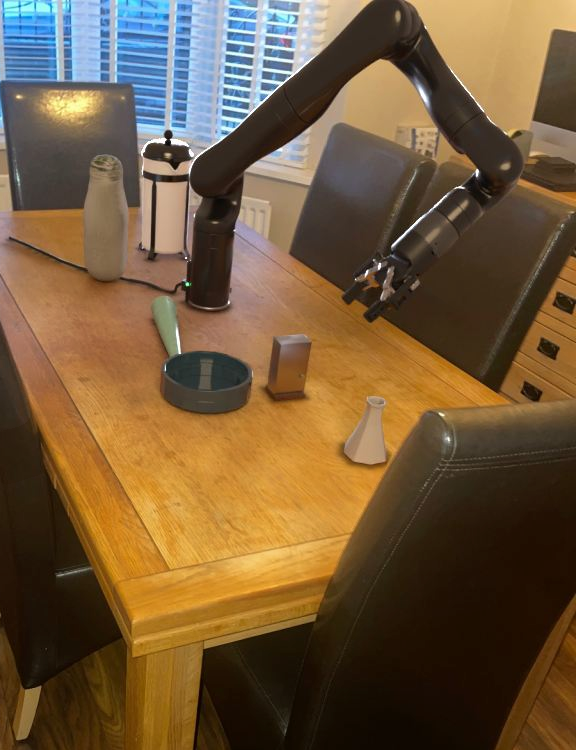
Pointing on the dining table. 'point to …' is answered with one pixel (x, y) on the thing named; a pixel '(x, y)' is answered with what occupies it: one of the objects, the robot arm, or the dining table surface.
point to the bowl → (206, 381)
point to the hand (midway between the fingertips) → (355, 310)
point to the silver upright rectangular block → (288, 366)
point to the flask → (368, 435)
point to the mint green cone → (167, 323)
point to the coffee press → (165, 196)
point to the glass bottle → (105, 220)
